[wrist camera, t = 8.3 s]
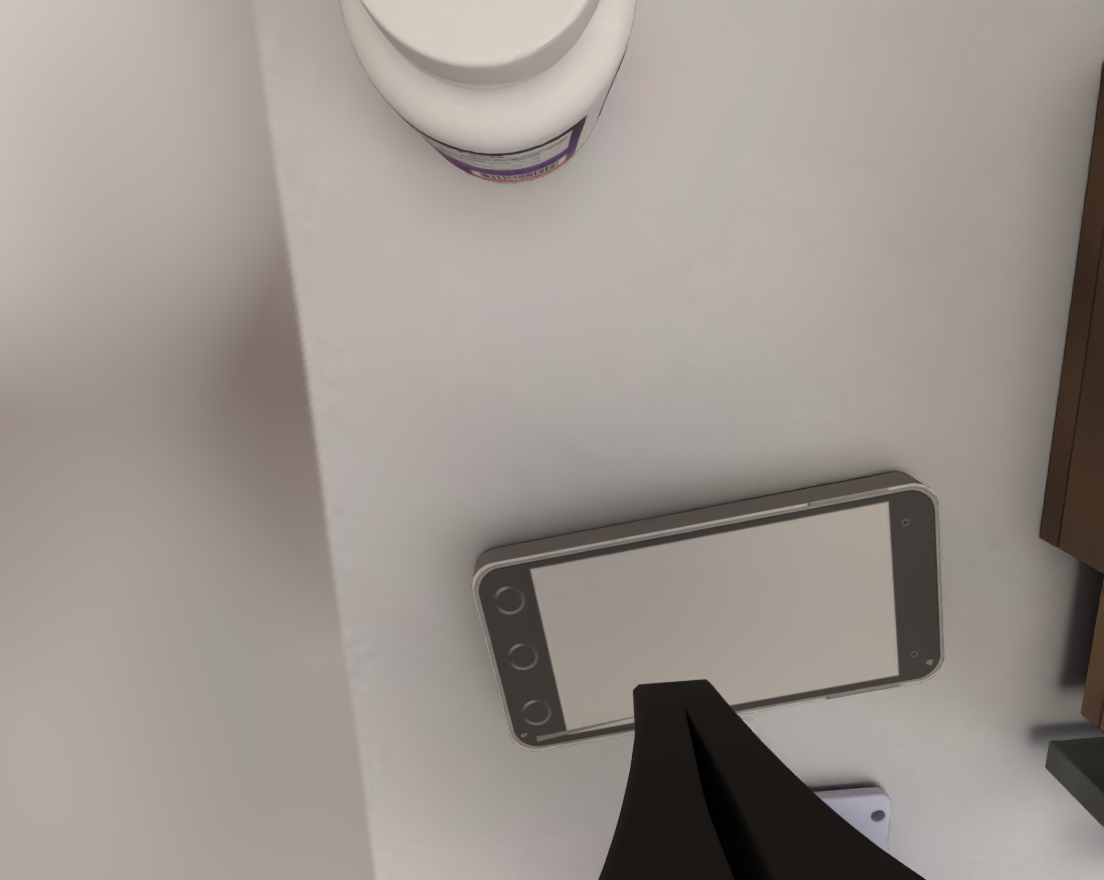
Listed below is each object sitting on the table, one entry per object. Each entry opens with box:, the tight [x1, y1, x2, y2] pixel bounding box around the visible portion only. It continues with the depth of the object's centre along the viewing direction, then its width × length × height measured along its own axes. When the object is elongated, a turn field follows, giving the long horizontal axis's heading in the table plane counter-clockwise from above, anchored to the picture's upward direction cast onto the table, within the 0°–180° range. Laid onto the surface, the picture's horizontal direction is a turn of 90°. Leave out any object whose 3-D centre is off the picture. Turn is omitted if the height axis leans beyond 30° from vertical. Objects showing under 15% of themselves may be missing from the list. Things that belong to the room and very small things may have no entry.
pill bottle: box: [339, 0, 637, 183], centre depth 14 cm, size 5×5×10 cm
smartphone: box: [472, 472, 944, 751], centre depth 22 cm, size 7×1×15 cm
